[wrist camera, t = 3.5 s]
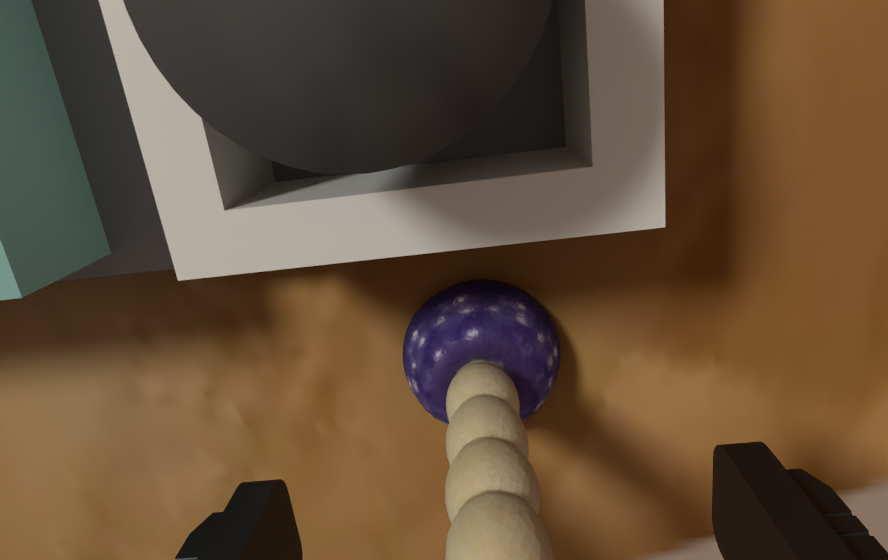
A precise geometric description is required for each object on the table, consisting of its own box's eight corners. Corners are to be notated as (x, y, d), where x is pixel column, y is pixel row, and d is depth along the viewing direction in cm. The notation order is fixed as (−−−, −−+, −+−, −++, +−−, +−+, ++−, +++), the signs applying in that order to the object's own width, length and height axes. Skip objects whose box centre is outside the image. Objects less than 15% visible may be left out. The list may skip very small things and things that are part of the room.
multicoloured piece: (619, -302, 12) (850, -882, 5) (632, 202, 15) (780, 319, 8) (-379, -123, 13) (-1328, -343, 6) (-176, 294, 17) (-658, 458, 10)
